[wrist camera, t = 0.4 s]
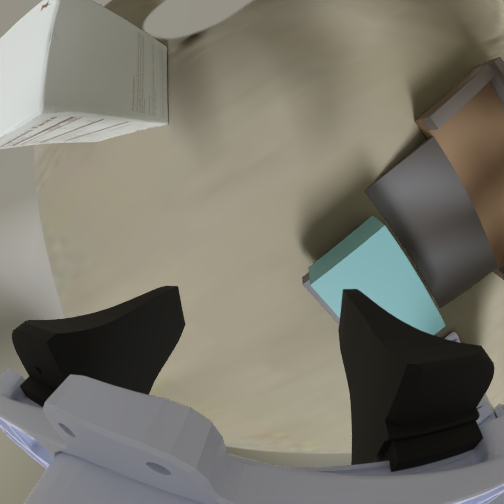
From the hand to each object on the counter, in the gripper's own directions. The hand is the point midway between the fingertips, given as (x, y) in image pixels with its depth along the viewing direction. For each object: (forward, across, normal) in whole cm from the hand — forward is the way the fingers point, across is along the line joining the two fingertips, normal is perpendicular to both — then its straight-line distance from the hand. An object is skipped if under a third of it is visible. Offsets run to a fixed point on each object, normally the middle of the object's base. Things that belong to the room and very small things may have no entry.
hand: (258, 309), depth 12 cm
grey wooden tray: (+10, -17, -4) cm, 21 cm away
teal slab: (+10, -8, +3) cm, 13 cm away
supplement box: (+10, +11, -13) cm, 20 cm away
